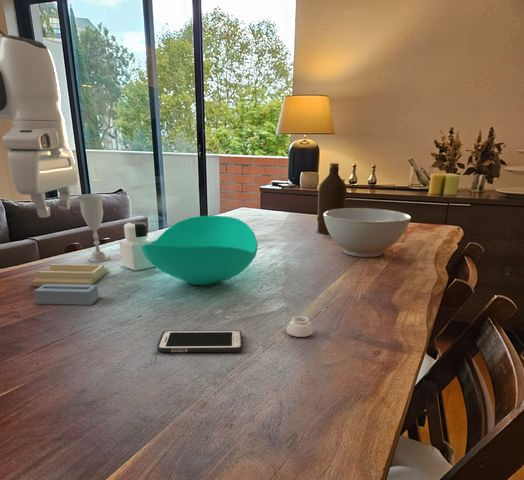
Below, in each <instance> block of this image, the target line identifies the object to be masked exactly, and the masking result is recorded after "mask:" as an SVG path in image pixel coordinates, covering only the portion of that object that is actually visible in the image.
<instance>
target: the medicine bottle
mask: <svg viewBox="0 0 524 480" xmlns="http://www.w3.org/2000/svg"><path fill="white" fill-rule="evenodd" d="M123 231H124V232H123V233H124V239H122V240H119V250H120V259H121V265H122V267H125V268H127V269H130V270H132V271H141V270H147V269H150V268H151V269H152V268H156V267H155V266H154V265H153V264H152V263H151V262H150V261H149V260H148V259H147V258H146V257H145V255H144V253H143V250H142V246H143V245H144V244H150V243H152V242H154V241H155V240H151V239H148V238H149V235H148V226H147V224H146V223H144V222H141V221H132V222H127V223H125V224H124V225H123Z"/></svg>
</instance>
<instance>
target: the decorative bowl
mask: <svg viewBox="0 0 524 480" xmlns="http://www.w3.org/2000/svg"><path fill="white" fill-rule="evenodd" d="M411 219H412V217H411V216H410V214H408V213H405V212H401V211H396V210H391V209H383V208H382V209H381V208H370V207H369V208H367V207H346V208H341V209H332V210H328V211H325V212H324V220H325V224H326V227H327V230H328V232H329V234H328V235H330V237H331V239H332V240H333V241H334V242H335V243H336V244H337V245H338V246H339V247H340V248H342V249H343V250H342V251H343V253H344V254H346V255H349V256H353V257H358V258H359V257H361V258H374V257H375V258H376V257H379V256H382V255H383V252H384V251H386V250H388V249H390V248H391V247H392V246H394V245H395V244H396V243H397V242H398V240H400V239H401V238H402V236H404V233H405V232H406V230H407V228H408V226H409V224H410V222H411Z"/></svg>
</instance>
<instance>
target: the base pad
mask: <svg viewBox="0 0 524 480" xmlns="http://www.w3.org/2000/svg"><path fill="white" fill-rule="evenodd" d="M48 266H49V270H37V271H36V276H37V277H36V278H35V279H33V280H31V286H32V287H41V286H42V285H44V284H70V285H95V283H96V282H98V281H99V280H100V279H101V278H102V277H103V276H105V275H106V274H107V273H108V272H109V269H108V266H107V267H106V266H105V264H79V263H78V264H77V263H76V264H75V263H74V264H73V263H72V264H71V263H70V264H69V263H50V264H48Z"/></svg>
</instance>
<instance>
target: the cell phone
mask: <svg viewBox="0 0 524 480" xmlns="http://www.w3.org/2000/svg"><path fill="white" fill-rule="evenodd" d="M156 350H157V352H159V353H237V352H241V351H242V350H243V332H242V331H241V330H238V329H235V330H233V329H230V330H229V329H226V330H224V329H221V330H220V329H219V330H218V329H217V330H215V329H214V330H213V329H211V330H209V329H207V330H205V329H204V330H199V329H198V330H163V331H162V333H161V335H160V338H159V340H158V343H157V346H156Z"/></svg>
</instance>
